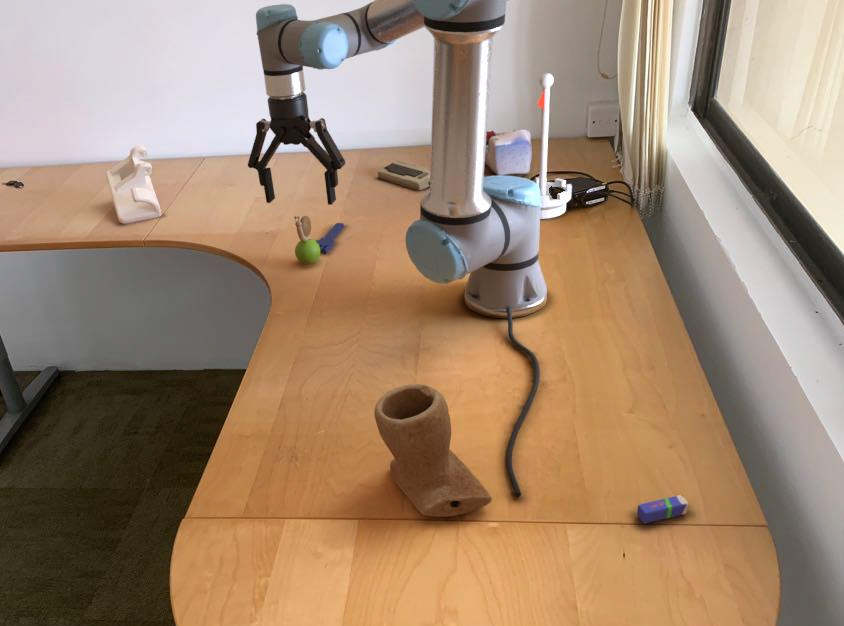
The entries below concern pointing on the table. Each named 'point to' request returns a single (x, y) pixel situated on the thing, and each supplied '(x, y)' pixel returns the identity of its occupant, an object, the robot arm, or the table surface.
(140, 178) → the white angular piece
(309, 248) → the snail figurine
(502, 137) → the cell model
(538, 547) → the table surface
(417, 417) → the clay pipe
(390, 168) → the computer
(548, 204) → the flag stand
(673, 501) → the eraser
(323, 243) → the fork
